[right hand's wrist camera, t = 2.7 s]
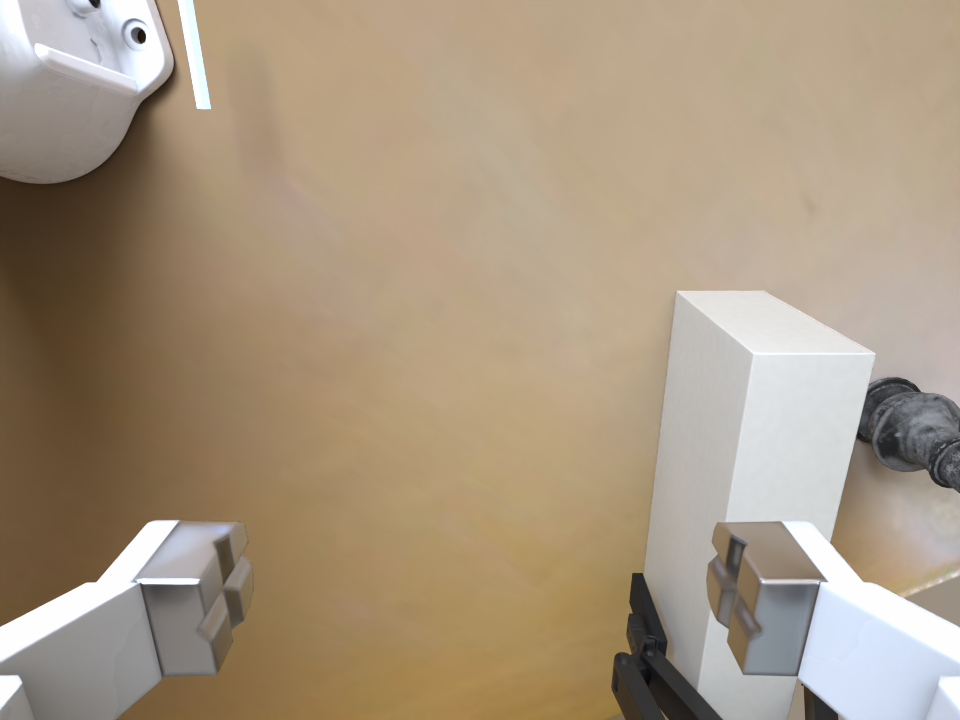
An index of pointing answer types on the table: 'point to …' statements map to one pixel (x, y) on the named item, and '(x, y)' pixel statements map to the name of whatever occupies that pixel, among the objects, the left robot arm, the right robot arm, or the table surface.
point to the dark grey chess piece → (912, 430)
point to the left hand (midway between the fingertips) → (695, 587)
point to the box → (743, 464)
